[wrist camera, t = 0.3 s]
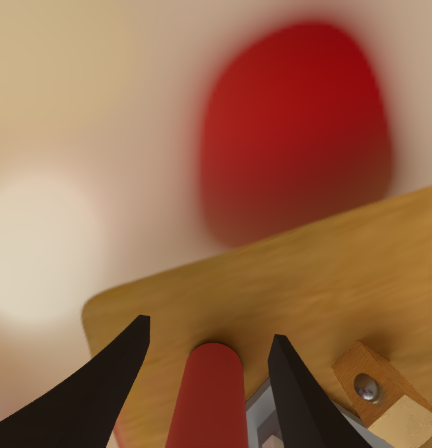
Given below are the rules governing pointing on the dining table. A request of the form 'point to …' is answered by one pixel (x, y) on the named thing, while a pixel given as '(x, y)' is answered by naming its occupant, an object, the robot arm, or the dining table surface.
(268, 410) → the shaft board
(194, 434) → the beer can
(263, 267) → the dining table surface
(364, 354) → the block
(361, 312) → the dining table surface
